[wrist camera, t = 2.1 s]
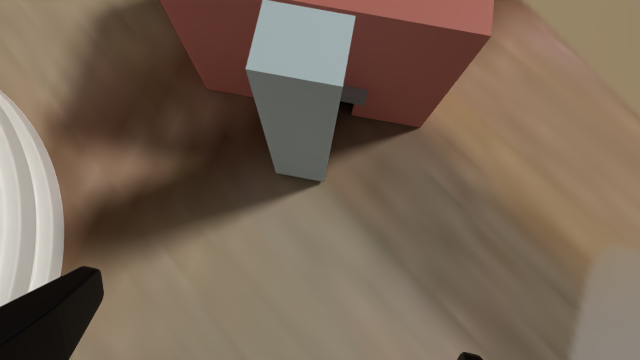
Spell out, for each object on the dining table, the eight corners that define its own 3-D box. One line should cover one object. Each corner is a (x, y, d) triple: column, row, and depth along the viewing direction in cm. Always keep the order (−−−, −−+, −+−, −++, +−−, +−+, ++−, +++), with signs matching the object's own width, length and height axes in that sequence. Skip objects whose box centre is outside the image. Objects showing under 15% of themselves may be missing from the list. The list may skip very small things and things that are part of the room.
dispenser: (418, 136, 25) (489, 49, 15) (204, 97, 25) (141, -14, 16) (435, 8, 27) (505, -138, 18) (238, -27, 28) (201, -191, 18)
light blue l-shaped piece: (324, 181, 24) (342, 86, 12) (275, 172, 24) (245, 69, 12) (357, -2, 27) (398, -225, 15) (314, -10, 27) (322, -238, 15)
